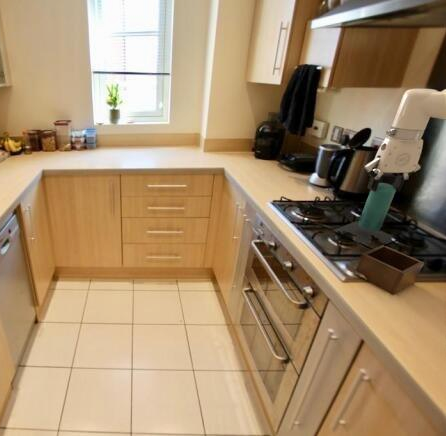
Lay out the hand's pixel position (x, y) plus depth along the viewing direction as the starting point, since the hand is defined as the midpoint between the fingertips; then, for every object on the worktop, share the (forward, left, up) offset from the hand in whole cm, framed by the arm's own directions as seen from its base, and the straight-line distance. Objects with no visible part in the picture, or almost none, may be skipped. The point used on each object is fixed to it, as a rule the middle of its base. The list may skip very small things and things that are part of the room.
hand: (383, 189), depth 101 cm
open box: (-16, +20, -17) cm, 31 cm away
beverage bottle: (0, 0, -15) cm, 15 cm away
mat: (0, 0, -17) cm, 17 cm away
